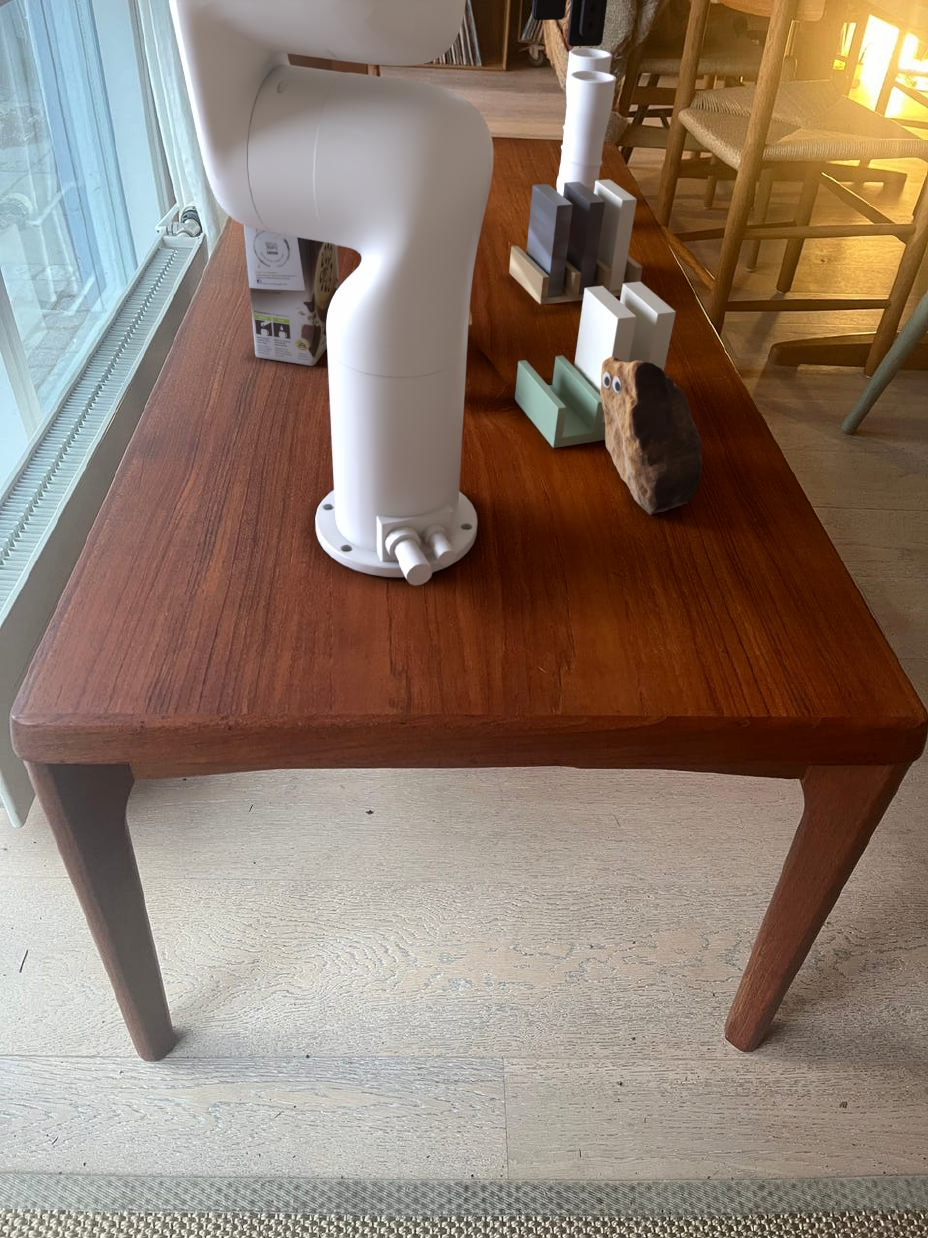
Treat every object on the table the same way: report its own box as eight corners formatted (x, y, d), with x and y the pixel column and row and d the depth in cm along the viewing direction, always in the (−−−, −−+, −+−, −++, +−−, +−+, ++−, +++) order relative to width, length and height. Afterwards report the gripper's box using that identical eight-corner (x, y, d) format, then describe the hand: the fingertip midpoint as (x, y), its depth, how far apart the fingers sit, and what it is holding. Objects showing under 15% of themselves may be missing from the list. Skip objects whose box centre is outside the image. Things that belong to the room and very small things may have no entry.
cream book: (597, 267, 115) (609, 178, 109) (622, 289, 111) (637, 198, 104) (583, 268, 115) (595, 179, 108) (608, 291, 110) (622, 200, 104)
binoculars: (595, 240, 124) (617, 83, 112) (553, 237, 124) (570, 80, 112) (591, 194, 137) (611, 49, 125) (553, 191, 137) (568, 46, 125)
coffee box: (316, 367, 96) (306, 197, 85) (253, 358, 96) (236, 189, 86) (343, 327, 102) (337, 166, 92) (284, 319, 103) (272, 158, 92)
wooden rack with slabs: (601, 270, 117) (615, 174, 110) (637, 301, 111) (654, 201, 104) (508, 280, 114) (516, 181, 106) (539, 312, 108) (549, 210, 100)
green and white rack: (628, 383, 96) (647, 274, 89) (673, 428, 90) (697, 316, 83) (514, 399, 93) (525, 287, 86) (553, 448, 87) (568, 332, 79)
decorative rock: (582, 447, 87) (599, 333, 80) (643, 439, 89) (665, 327, 82) (639, 524, 79) (664, 406, 72) (705, 514, 80) (736, 397, 73)
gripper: (677, -200, 73) (639, 55, 85) (593, -217, 86) (571, 9, 97) (583, -204, 72) (558, 57, 83) (512, -220, 84) (499, 10, 96)
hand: (565, 31), depth 90 cm, fingers open, 9 cm apart
